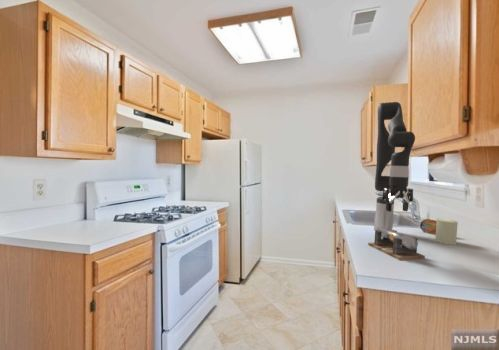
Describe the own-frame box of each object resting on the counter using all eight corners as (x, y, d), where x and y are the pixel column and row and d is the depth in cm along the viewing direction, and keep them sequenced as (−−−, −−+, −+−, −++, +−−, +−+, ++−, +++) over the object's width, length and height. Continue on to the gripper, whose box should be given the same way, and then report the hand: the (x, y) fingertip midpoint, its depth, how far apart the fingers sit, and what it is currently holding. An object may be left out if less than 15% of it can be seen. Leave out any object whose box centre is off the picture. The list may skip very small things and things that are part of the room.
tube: (375, 236, 131) (376, 226, 131) (384, 236, 132) (385, 226, 132) (407, 250, 112) (408, 238, 111) (417, 250, 113) (418, 238, 113)
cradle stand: (367, 245, 131) (368, 229, 130) (390, 244, 133) (391, 228, 133) (398, 260, 111) (399, 241, 111) (424, 258, 114) (425, 240, 113)
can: (457, 245, 134) (459, 222, 133) (435, 242, 139) (437, 219, 138) (455, 241, 142) (456, 219, 141) (434, 238, 147) (435, 216, 146)
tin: (419, 231, 161) (420, 217, 161) (421, 230, 163) (422, 217, 162) (448, 237, 149) (449, 223, 148) (450, 237, 150) (451, 222, 150)
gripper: (405, 175, 125) (403, 209, 126) (379, 175, 122) (377, 209, 123) (419, 176, 118) (416, 212, 119) (391, 176, 115) (389, 213, 116)
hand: (396, 211), depth 121 cm, fingers open, 8 cm apart
